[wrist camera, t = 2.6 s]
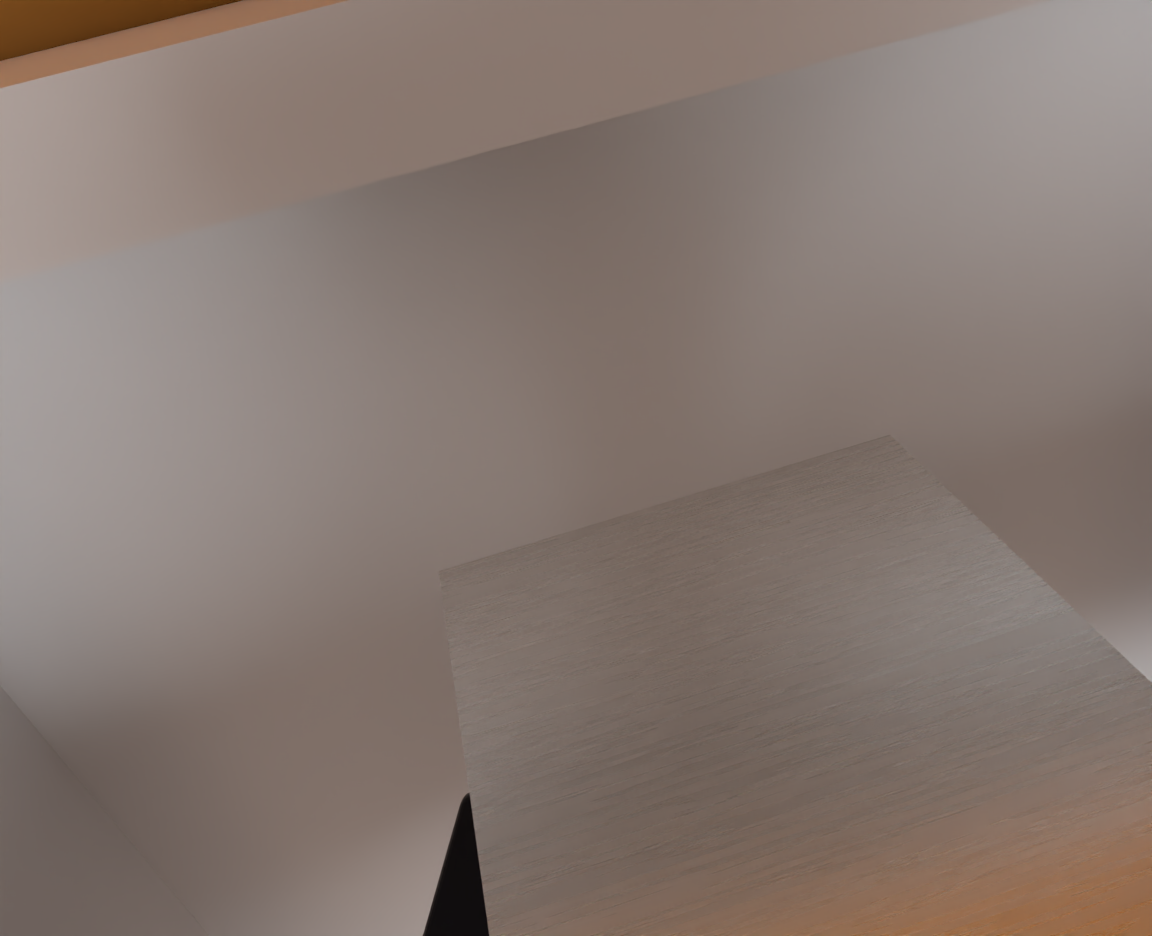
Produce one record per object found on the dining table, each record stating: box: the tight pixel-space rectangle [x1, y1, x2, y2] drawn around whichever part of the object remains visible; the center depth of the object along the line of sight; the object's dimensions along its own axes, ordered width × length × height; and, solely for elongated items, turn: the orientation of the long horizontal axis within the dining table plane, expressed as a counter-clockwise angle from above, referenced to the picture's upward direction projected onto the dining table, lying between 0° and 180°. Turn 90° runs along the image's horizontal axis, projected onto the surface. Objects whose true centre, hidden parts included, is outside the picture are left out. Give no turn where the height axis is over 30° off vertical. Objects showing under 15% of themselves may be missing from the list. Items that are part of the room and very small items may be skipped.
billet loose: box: [439, 435, 1152, 936], centre depth 7 cm, size 4×4×6 cm
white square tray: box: [0, 0, 1152, 936], centre depth 9 cm, size 14×14×2 cm
